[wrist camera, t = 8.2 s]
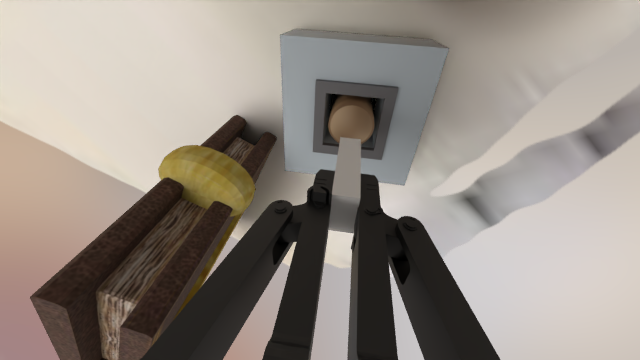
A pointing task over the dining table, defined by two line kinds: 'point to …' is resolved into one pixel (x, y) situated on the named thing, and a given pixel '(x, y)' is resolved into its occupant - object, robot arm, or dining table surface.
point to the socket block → (357, 80)
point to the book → (153, 251)
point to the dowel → (351, 118)
